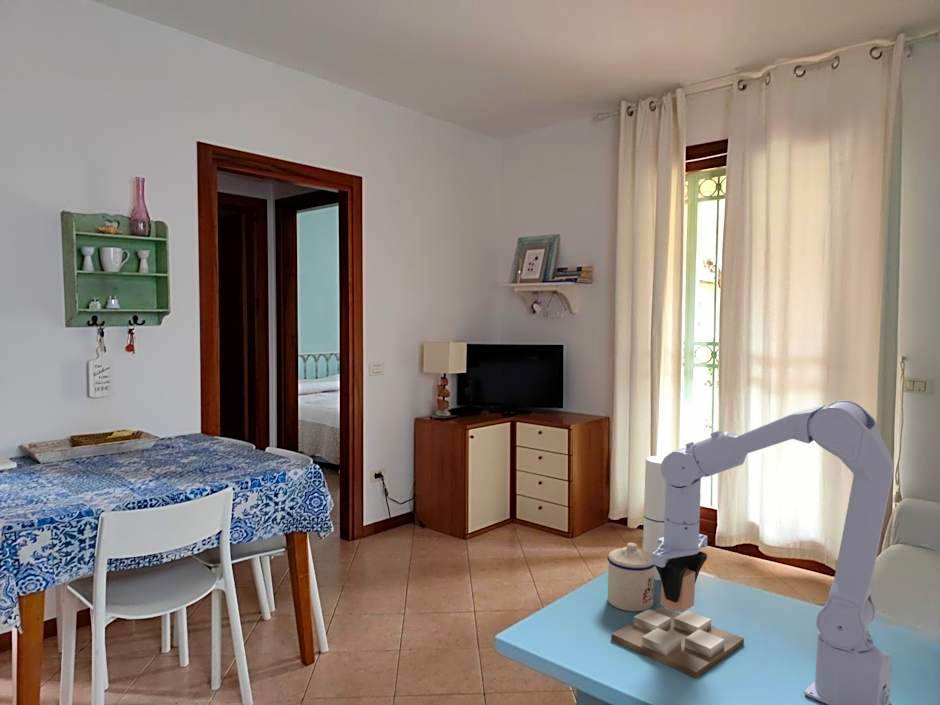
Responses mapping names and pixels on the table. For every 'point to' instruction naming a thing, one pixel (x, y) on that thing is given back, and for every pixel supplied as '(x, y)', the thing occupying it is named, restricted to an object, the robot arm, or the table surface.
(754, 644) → the table surface
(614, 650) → the table surface
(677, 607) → the terracotta block
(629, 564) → the teacup with lid
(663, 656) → the walnut board
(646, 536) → the cylindrical container
